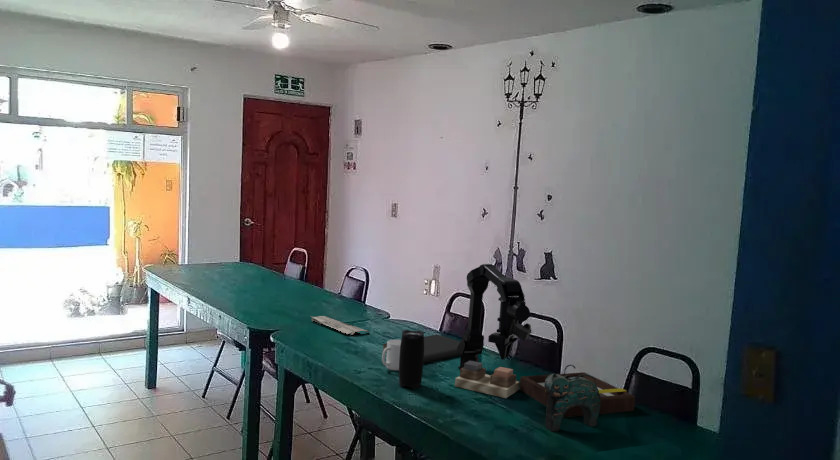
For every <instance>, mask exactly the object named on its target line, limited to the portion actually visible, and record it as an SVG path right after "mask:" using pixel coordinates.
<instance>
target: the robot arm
mask: <svg viewBox="0 0 840 460" xmlns="http://www.w3.org/2000/svg"><path fill="white" fill-rule="evenodd" d="M489 282H491V283H492V284H494V286H496V291H497V292H498V294H499V298H498V301H500V304H499V305H500V307H499V316H498V317H497V322H498V328H497V329H496V332H493V333H491V334H489V335H488V337H487V338H488V339H487V341H488V343H492V344H494V345H495V346H496V349H497V351H498V352H497V353H498V354H499V356H500V357H499V358H500V359H501V360H505V359H508V358H509V356H510V353H511V350H512V348H513V345H514V343H515V342H517V341H518V340H519V339H520V340H522V341H525V340H527V339H529V336H530V335H531V334H532V328H531V327H532V326H531V324H529V323H525V324H524V325H523V324H521V323H519V322H526V321H527V320H528V319H529V318H530V317H531V316H530V315H531V311H530V308H529V307H528V306H527V305H526V299H525V294H524V290H523V288H522V285H521V283H520V282H519V281H518V279H515V278H511V277H507V276H506V275H505V274H504V273H502V272H501V271H500V270H499V269H498V268H497V267H496V266H495V265H494V264H492V263H483V264H480V265H479V266H478V267H475V268H474V269H471V270H470V271H469V272H468V273H467V274H466V283H467V284H466V286H467V288H468V290H469V292H470V295H469V298H470V299H469V306H468V307H469V308H468V318H467V319H468V320H467V328H466V329H465V331H464V332H463V334H462V338H461V341H460V344H459V345H458V347H457V349H458V353H460V354H461V356H460V358H459V359H460V360H459V366H457V369H459V370H460V369H461V368H463V367H464V363H466V362H468V361H475V362H480V358H479V355H482V353H483V350H484V345H485V343H484V340H485V336H484V335H483V333H482V332H481V322H482V321H481V320H482V310H483V298H484V294H485V292H486V291H487V289H488V288H489Z"/></svg>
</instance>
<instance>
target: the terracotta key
mask: <svg viewBox="0 0 840 460" xmlns="http://www.w3.org/2000/svg"><path fill="white" fill-rule="evenodd" d="M493 374H494V376H498V377H503V378H507V379H508V378H510V377H511V376H513V374H514V369H513V368H509V367H502V366H499V367H497V368H495V369H494V372H493Z"/></svg>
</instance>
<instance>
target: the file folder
mask: <svg viewBox="0 0 840 460" xmlns="http://www.w3.org/2000/svg"><path fill="white" fill-rule="evenodd" d="M460 342H461V341H460V340H457V339H453V338H450V337H447V336H443V335H440V334H432V335H427V336H425V335H424V361H423V365H424V364H429V363H430V364H431V363H434V362H437V361H442V360H447V359H452V357H453V358H457V357H461V354H460V353H458V349H457V347H458V345H459V344H460ZM382 345H383V346H382V352H383V351H384V349H385V348H387V342H386V343H382ZM386 352H387V351H386ZM456 356H457V357H456Z"/></svg>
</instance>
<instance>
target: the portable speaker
mask: <svg viewBox="0 0 840 460" xmlns="http://www.w3.org/2000/svg"><path fill="white" fill-rule="evenodd" d="M424 334H425V332H424V331H422V330H410V329H405V330H402V333H401V339H400V340H401V345H400V357H399V371H398V386H399V387H401V388H404V387H410V388H411V389H413V390H416V389H420V388H421V385H422V379H423V370H424V364H423V361H424V337H425V335H424Z"/></svg>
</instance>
